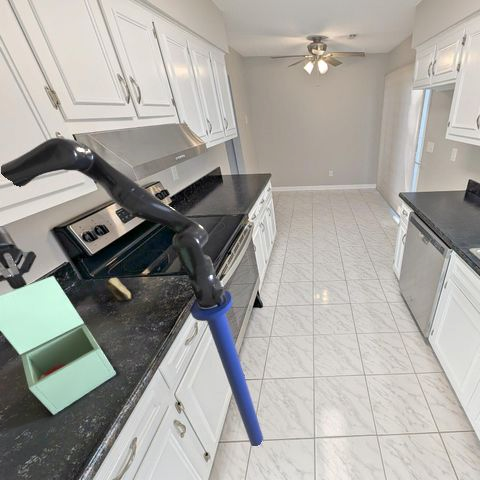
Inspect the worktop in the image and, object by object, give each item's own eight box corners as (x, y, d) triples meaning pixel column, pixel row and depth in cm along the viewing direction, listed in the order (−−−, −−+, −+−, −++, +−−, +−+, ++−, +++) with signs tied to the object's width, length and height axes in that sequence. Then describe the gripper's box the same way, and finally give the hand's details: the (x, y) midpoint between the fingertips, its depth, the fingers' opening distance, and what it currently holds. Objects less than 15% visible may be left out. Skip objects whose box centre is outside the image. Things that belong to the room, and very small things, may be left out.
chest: (116, 374, 75) (99, 348, 70) (53, 415, 65) (28, 388, 60) (100, 348, 84) (84, 323, 79) (43, 380, 74) (20, 355, 69)
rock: (112, 285, 112) (97, 296, 103) (119, 269, 111) (105, 280, 102) (137, 294, 116) (126, 306, 106) (145, 279, 114) (134, 290, 105)
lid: (53, 276, 73) (53, 275, 73) (-22, 303, 63) (-22, 302, 64) (84, 323, 79) (83, 322, 79) (19, 354, 69) (19, 353, 69)
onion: (65, 374, 75) (30, 377, 68) (80, 358, 75) (46, 359, 68) (70, 390, 72) (33, 395, 65) (85, 374, 72) (51, 376, 65)
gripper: (-54, 242, 66) (-22, 297, 64) (18, 224, 75) (48, 271, 73) (-40, 255, 71) (-9, 305, 70) (26, 236, 80) (55, 280, 79)
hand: (20, 287), depth 72 cm, fingers closed
